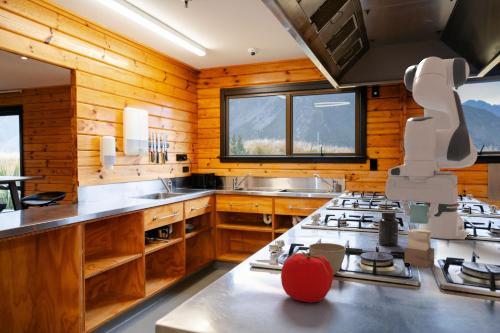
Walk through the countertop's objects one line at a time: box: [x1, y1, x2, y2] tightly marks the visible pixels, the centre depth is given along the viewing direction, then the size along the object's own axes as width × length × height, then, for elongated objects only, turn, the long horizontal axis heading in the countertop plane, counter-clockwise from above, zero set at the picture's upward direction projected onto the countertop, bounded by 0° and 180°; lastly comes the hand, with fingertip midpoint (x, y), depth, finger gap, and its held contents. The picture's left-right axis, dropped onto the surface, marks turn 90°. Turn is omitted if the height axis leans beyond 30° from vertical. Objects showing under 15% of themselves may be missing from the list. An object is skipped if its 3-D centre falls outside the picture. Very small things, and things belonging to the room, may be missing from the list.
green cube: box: [409, 204, 429, 225], centre depth 105 cm, size 5×5×5 cm
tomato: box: [280, 250, 334, 303], centre depth 79 cm, size 12×12×10 cm
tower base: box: [404, 246, 435, 269], centre depth 105 cm, size 6×6×5 cm
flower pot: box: [308, 242, 347, 276], centre depth 97 cm, size 10×10×7 cm
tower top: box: [407, 228, 432, 251], centre depth 105 cm, size 5×5×5 cm
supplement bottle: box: [378, 210, 399, 247], centre depth 130 cm, size 7×7×12 cm
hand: (419, 216), depth 105 cm, fingers closed on green cube, 5 cm apart
